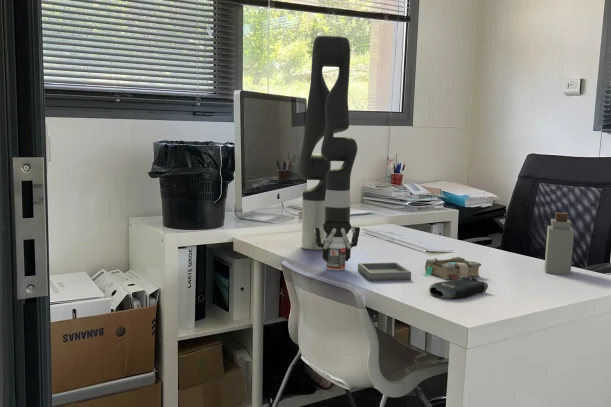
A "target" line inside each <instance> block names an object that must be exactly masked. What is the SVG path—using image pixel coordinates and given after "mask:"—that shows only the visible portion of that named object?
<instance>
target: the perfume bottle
mask: <svg viewBox="0 0 611 407" xmlns="http://www.w3.org/2000/svg"><path fill="white" fill-rule="evenodd" d="M554 213H555V216H554V217H555V218H551V219H550V222H551V225H547V229H546V231H547V232H546V240H545V241H546V242H545V255H544V257H545V258H544V271H545V274H552V275H563V276H571V274H572V273H571V272H572V263H573V262H572V259H573V249H574V247H573V246H574V237H575V236H574V234H575V233H574V232H575V230H574V229H573V227H572V224H573V222H572V221H571V220H570V219H568V217H569V214H568V212H556V211H555V212H554Z"/></svg>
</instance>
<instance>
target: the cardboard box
mask: <svg viewBox="0 0 611 407" xmlns="http://www.w3.org/2000/svg"><path fill="white" fill-rule="evenodd" d="M424 265H425V266H424V269H425V274H424V273H422V274H421V276H424V277H428V276H431V275H432V276H435V277H439V278H440V279H443V280H445V281H453V280H458V279H460V278H461V277H462V276H464V277H470V278H471V277H473V278H477V277H480V275H479V270H480V267H481V266H482V263H480V262H477V261H472V260H471V261H469V260H466V259H465V258H464V257H460V256H455V257H451V258H449V259H447V258H446V259H438V258H436V257H435V258H428V259H426V261H425V264H424Z"/></svg>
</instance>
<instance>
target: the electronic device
mask: <svg viewBox="0 0 611 407" xmlns="http://www.w3.org/2000/svg"><path fill="white" fill-rule="evenodd" d="M488 288H489V284H488V283H487V282H485V281H481V280H478V278H477V277H464V276H462V277H461V278H460V279H459V278H458V280H445V281H439V282H435V283H433V284H431V285H430V286H429V288H428V290H429V293H430V297H431V296H433V297H436V298H441V299H446V300H447V299H448V300H455V299H456V300H457V299H462V298H467V297H470V296H474V295H476V294H479V293H487V290H488ZM435 292H440V293H439V295H440V296H438V295H435V294H433V293H435Z"/></svg>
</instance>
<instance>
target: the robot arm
mask: <svg viewBox="0 0 611 407" xmlns="http://www.w3.org/2000/svg"><path fill="white" fill-rule="evenodd" d="M312 45H313V46H312V52H311V53H312V57H311V67H310V68H311V69H310V70H311V71H310V72H311V73H310V85H309V93H308V98H307V105H306V112H305V120H304V121H305V125H304V136H303V141H302V147H301V152H300V157H299V161H298V174H299V177H300V179H302V180H305V181H319V182H318V183H317V184H316V185H315V186H313V187H310V188H308V189H305V190H304V191H303V192H302V201H301V202H302V204H301V205H302V207H301V208H302V209H301V211H302V213H301V215H302V216H301V248H302V249H304V250H305V249H306V250H310V251H311V250H313V251H315V250H317V251H318V250H319V251H320V250H321V258H322V259H323V261H324V262H327V261H328V249H327V247H328V245H329V243H330V242H331V240H332V238H333V237H343V238H344V244H345V245H346V262H348V261H349V260H350V259H351V252H352V249H353V248H354V247H357V246H358V242H359V236H360V231H361V228H360V227H359V226H357V225H351V175H352V169H353V166H354V164H355V160H356V157H357V154H358V144H357V142H356V140H355V138H353V137H349V136H344V137H341V136H334V134H335V135H336V134H338V133H342V132H345V131H347V130H348V129H349V127H350V114H349V113H350V112H349V85H350V71H351V70H350V68H351V65H350V64H351V45H350V41H349V38H347V36H343V35H341V36H340V35H325V34H323V35H322V34H321V35H319V34H318V35H316V37H315V38H314V40H313V44H312ZM324 67H327V68H338V75H337V78H336V80H335V81H334V84H333V86H332V87H331V89H329V88H328V86H327V83H326V82H325V81H326V80H325V78H324V76H323V74H324V73H323V68H324ZM321 139H323V140H322V142H321V148H320V153H313V152H314V150H315V148H316V146H317V144H318V143H319V142H320V141H321ZM332 162H343V163H342V164H341V166H340V167H337V168H333V169H331V168H332ZM350 231H351V233H352V235H351V236H352V237H351V241H350V240H349V237H348V233H349V232H350Z"/></svg>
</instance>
